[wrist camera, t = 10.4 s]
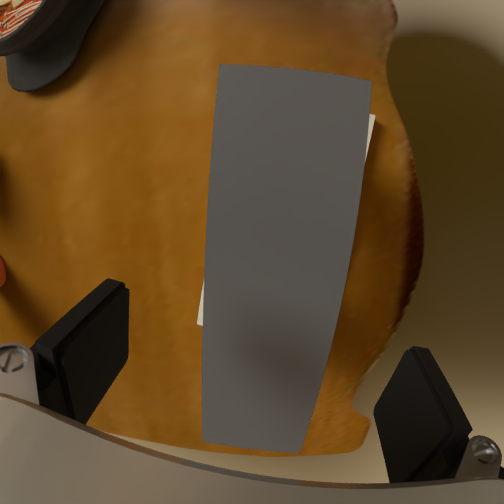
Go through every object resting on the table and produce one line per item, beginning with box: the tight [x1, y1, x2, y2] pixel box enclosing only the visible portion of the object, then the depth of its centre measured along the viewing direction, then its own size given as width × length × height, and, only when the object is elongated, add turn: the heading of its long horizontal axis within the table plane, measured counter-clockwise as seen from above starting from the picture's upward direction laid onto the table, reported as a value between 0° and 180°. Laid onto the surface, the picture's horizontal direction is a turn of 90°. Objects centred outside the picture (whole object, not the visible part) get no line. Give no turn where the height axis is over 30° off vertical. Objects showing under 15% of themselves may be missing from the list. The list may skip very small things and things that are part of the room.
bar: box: [202, 64, 372, 453], centre depth 17 cm, size 20×6×7 cm, turn 175°
